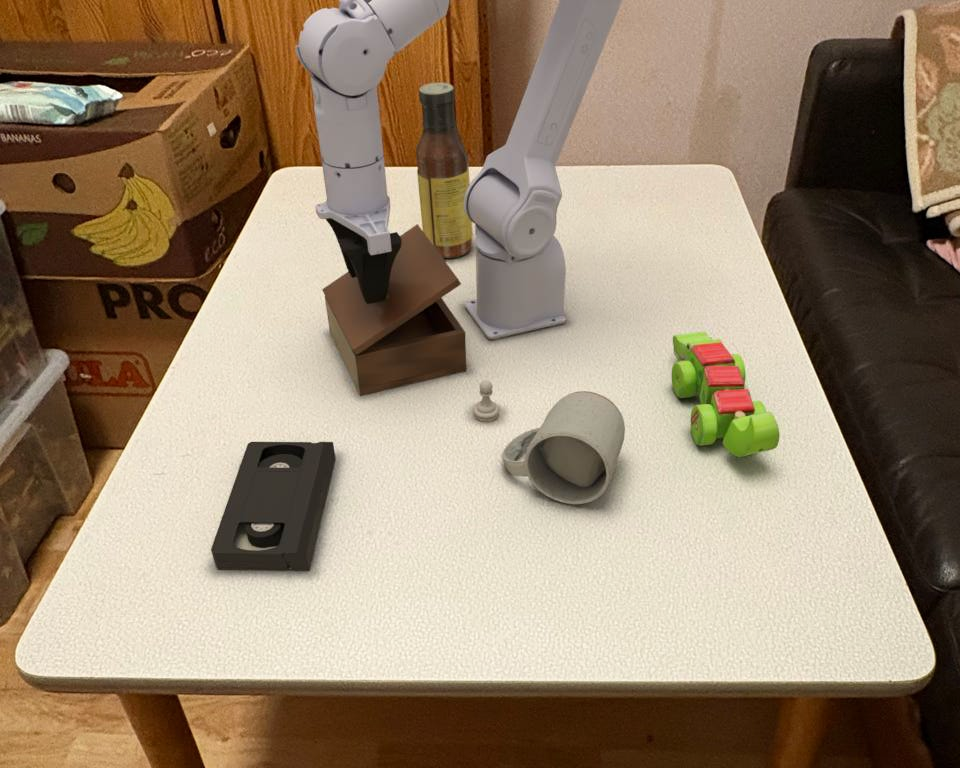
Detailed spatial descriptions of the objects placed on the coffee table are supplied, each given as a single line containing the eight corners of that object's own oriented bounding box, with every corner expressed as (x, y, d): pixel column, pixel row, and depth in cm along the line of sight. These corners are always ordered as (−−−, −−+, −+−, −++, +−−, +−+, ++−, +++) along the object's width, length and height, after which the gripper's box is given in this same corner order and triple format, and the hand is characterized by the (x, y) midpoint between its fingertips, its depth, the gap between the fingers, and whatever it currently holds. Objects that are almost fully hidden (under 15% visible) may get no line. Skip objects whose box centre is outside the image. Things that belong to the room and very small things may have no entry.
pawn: (486, 425, 89) (486, 392, 86) (467, 414, 90) (466, 381, 88) (504, 413, 90) (505, 380, 88) (485, 403, 92) (485, 370, 89)
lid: (420, 229, 98) (401, 198, 95) (461, 284, 89) (442, 252, 86) (325, 294, 98) (304, 266, 95) (356, 355, 90) (333, 326, 87)
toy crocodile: (658, 358, 97) (665, 309, 93) (719, 355, 97) (729, 305, 93) (709, 481, 82) (720, 429, 78) (781, 476, 83) (796, 423, 79)
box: (428, 312, 105) (426, 275, 101) (466, 371, 96) (465, 332, 93) (329, 333, 102) (324, 295, 98) (360, 395, 93) (355, 356, 90)
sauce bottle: (482, 244, 117) (479, 84, 103) (455, 265, 113) (449, 101, 100) (439, 232, 119) (432, 74, 106) (412, 252, 115) (400, 91, 102)
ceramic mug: (625, 455, 85) (632, 388, 80) (606, 513, 79) (612, 444, 74) (517, 435, 88) (516, 369, 83) (491, 490, 82) (489, 422, 77)
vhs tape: (252, 457, 86) (248, 441, 84) (335, 458, 85) (333, 441, 84) (214, 569, 75) (209, 552, 74) (309, 570, 75) (306, 553, 74)
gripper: (292, 134, 87) (312, 262, 97) (329, 195, 77) (348, 331, 86) (363, 123, 89) (376, 249, 98) (408, 181, 79) (418, 315, 88)
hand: (367, 287), depth 93 cm, fingers closed on lid, 5 cm apart
